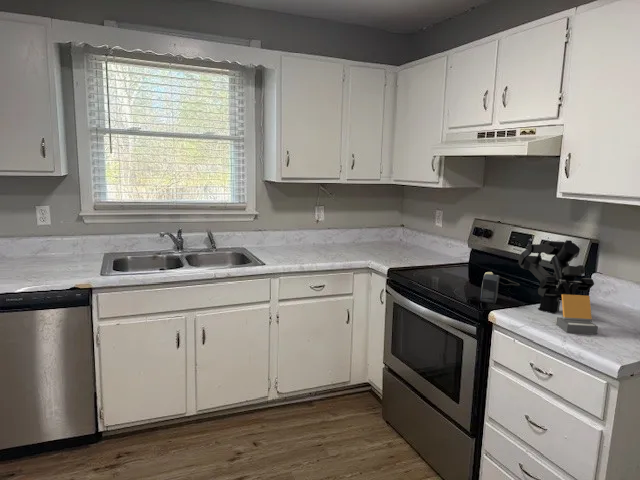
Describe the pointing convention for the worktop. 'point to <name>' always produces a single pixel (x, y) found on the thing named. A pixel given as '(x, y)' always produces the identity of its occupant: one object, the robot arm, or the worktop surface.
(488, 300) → the small box
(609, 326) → the worktop surface
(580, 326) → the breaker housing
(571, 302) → the orange square tile
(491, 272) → the cable
